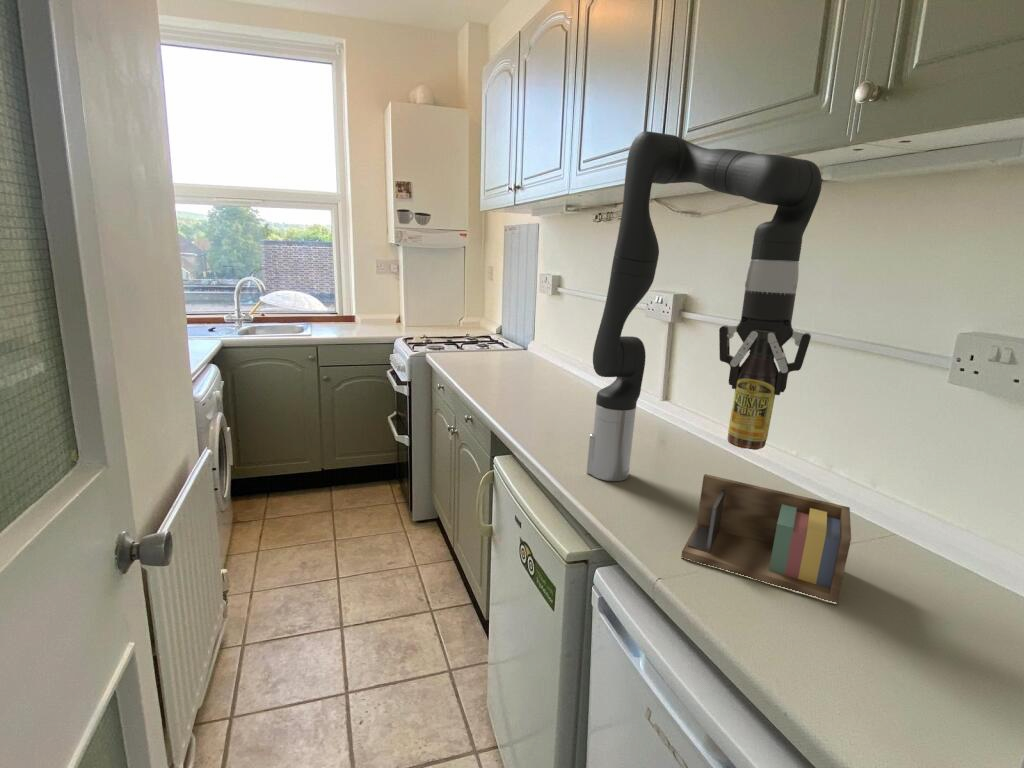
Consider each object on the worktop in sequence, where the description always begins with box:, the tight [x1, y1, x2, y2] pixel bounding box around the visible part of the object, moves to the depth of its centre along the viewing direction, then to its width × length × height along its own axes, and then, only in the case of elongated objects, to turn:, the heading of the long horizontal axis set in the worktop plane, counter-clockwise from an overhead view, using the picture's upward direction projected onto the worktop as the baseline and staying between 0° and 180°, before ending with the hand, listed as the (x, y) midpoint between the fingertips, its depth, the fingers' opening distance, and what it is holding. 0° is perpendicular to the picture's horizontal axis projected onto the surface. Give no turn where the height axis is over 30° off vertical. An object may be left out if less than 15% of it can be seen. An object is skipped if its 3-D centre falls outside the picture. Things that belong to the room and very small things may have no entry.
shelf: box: [680, 473, 852, 604], centre depth 97 cm, size 24×13×12 cm, turn 60°
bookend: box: [688, 490, 725, 553], centre depth 102 cm, size 4×9×8 cm, turn 150°
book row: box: [769, 504, 840, 588], centre depth 94 cm, size 9×9×9 cm
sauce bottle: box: [727, 330, 779, 451], centre depth 94 cm, size 7×6×20 cm
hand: (755, 390), depth 94 cm, fingers closed on sauce bottle, 6 cm apart
